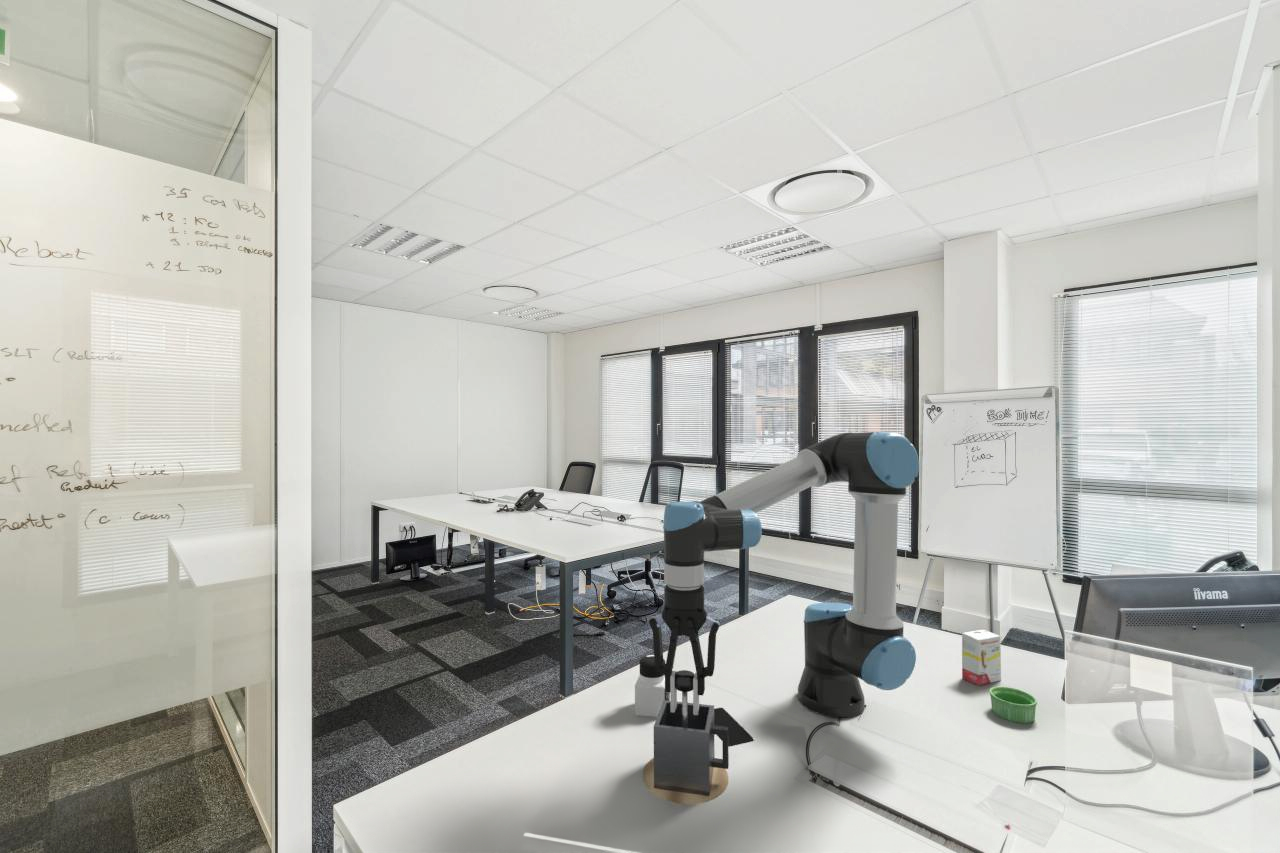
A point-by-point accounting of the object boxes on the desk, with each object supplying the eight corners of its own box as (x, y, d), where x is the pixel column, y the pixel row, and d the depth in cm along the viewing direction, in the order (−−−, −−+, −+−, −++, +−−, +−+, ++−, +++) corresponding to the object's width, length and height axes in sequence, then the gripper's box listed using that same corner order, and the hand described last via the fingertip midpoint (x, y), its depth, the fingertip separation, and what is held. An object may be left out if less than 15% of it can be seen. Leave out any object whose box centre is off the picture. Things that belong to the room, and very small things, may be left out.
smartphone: (722, 706, 126) (756, 740, 112) (722, 710, 126) (756, 745, 111) (695, 711, 123) (727, 747, 109) (695, 715, 123) (727, 751, 109)
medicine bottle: (665, 719, 121) (665, 665, 121) (634, 716, 122) (634, 663, 123) (670, 704, 128) (669, 653, 128) (640, 701, 129) (640, 651, 130)
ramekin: (980, 707, 126) (979, 688, 126) (1012, 703, 128) (1011, 684, 128) (1013, 727, 117) (1013, 707, 117) (1047, 722, 119) (1047, 702, 119)
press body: (730, 764, 103) (729, 707, 104) (726, 798, 94) (726, 735, 94) (663, 756, 106) (663, 700, 107) (653, 788, 97) (653, 726, 97)
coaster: (731, 757, 106) (731, 755, 106) (725, 812, 91) (725, 810, 91) (652, 747, 110) (652, 745, 110) (633, 798, 94) (633, 796, 94)
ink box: (978, 686, 136) (977, 639, 136) (961, 678, 141) (960, 633, 141) (1002, 680, 139) (1001, 635, 139) (984, 673, 144) (983, 628, 144)
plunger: (705, 757, 103) (704, 668, 103) (701, 779, 96) (700, 684, 97) (670, 753, 104) (669, 665, 105) (664, 774, 98) (663, 680, 98)
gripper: (729, 582, 103) (730, 705, 102) (645, 577, 107) (646, 696, 106) (727, 593, 96) (728, 725, 95) (636, 587, 99) (637, 715, 99)
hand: (684, 709), depth 101 cm, fingers closed on plunger, 4 cm apart
